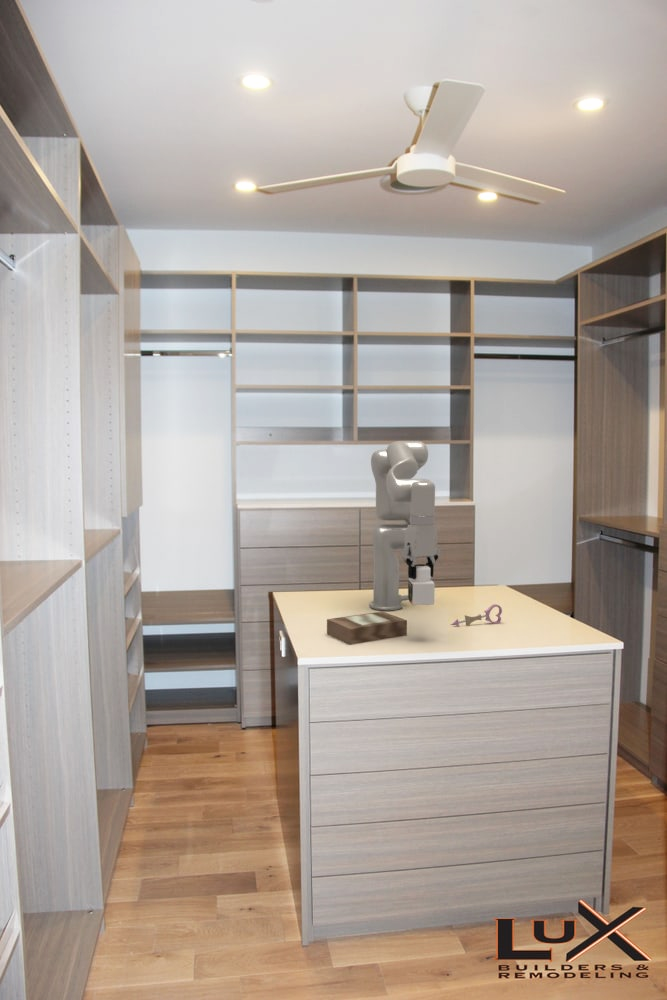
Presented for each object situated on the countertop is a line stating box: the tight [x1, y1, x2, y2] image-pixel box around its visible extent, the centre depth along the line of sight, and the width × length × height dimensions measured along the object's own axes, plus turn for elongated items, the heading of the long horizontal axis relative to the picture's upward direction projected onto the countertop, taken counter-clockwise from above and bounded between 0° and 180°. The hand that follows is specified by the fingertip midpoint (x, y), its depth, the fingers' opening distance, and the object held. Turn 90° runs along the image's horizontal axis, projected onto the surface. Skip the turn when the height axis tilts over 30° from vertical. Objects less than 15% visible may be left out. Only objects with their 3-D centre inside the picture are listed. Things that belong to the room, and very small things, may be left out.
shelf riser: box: [326, 610, 408, 645], centre depth 242 cm, size 22×14×5 cm, turn 121°
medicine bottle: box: [407, 563, 436, 606], centre depth 235 cm, size 7×7×12 cm
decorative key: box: [450, 603, 503, 628], centre depth 256 cm, size 7×1×20 cm
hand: (420, 576), depth 234 cm, fingers closed on medicine bottle, 6 cm apart
